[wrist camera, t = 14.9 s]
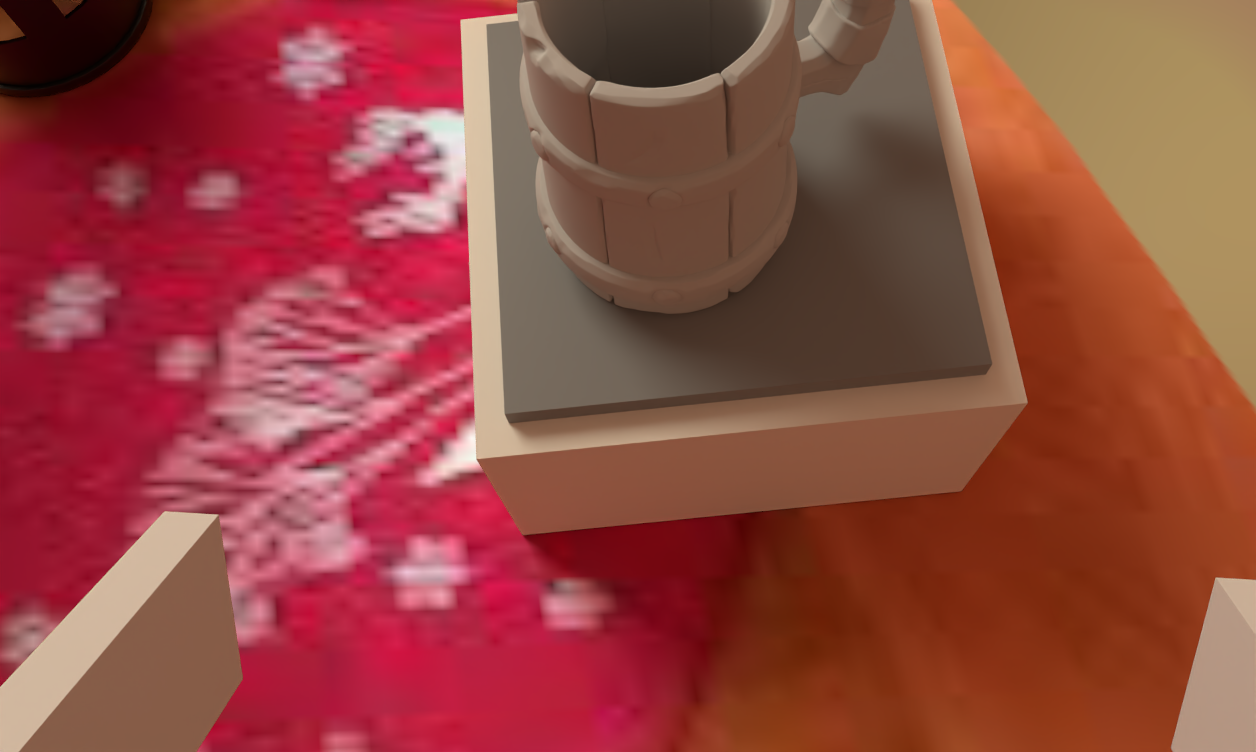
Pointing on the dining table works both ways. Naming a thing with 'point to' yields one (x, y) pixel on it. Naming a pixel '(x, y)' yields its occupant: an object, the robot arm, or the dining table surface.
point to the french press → (66, 43)
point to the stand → (747, 319)
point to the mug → (676, 134)
